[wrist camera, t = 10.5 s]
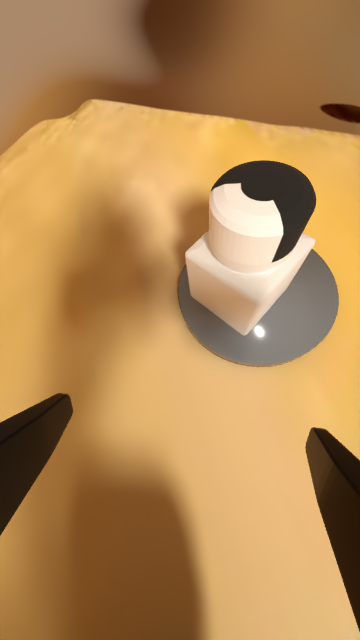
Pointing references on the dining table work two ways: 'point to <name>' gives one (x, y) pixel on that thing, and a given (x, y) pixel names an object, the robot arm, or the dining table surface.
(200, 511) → the dining table surface
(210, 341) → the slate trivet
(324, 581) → the dining table surface
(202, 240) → the medicine bottle
